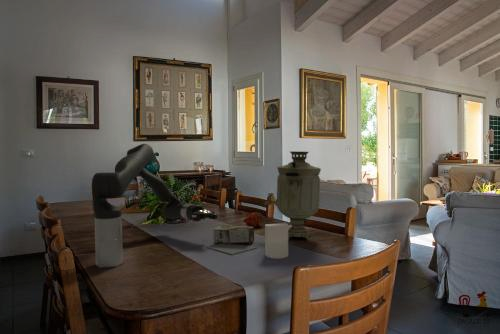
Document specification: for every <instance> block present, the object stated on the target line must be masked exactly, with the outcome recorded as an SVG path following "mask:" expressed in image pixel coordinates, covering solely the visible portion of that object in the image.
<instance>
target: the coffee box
mask: <svg viewBox="0 0 500 334" xmlns="http://www.w3.org/2000/svg"><path fill="white" fill-rule="evenodd" d="M253 242H255V227H254V226H252V227H250V226H247V225H246V226H245V225H244V226H241V225H219V226H217V227H215V228H213V243H214V244H221V243H225V244H240V245H249V246H251V244H252V243H253Z"/></svg>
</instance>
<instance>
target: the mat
mask: <svg viewBox="0 0 500 334" xmlns="http://www.w3.org/2000/svg"><path fill="white" fill-rule="evenodd" d="M206 249H209V250H212V249H213V251H216V252H219V253H223V254H227V255H230V254H231V255H230V256H233V254H234V255H237V254H240V253H244V251H245V252H248V250H249V251H252V250H256V249H258V247H256V246H252V245H240V244H225V243H215V244H213V245H209V246H206Z"/></svg>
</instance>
